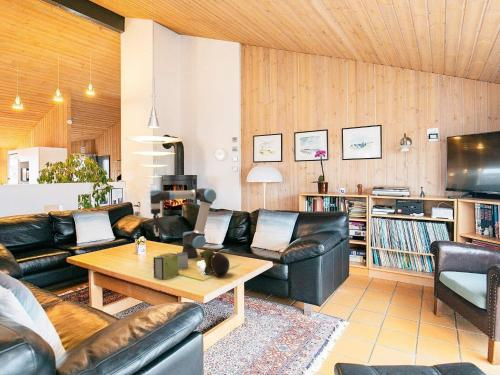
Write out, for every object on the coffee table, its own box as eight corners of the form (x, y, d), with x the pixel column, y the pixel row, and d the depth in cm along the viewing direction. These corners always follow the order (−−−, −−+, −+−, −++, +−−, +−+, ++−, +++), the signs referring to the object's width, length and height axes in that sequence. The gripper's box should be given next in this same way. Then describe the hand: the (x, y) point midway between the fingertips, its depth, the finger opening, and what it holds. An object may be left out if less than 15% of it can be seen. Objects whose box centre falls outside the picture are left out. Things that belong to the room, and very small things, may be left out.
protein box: (178, 274, 235) (178, 254, 234) (163, 280, 222) (163, 258, 221) (168, 272, 240) (168, 252, 240) (153, 277, 227) (153, 256, 226)
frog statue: (217, 285, 224) (192, 270, 236) (230, 278, 237) (205, 264, 249) (222, 262, 220) (196, 248, 232) (235, 256, 233) (209, 243, 245)
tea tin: (186, 266, 255) (186, 251, 255) (188, 268, 249) (187, 253, 248) (177, 267, 253) (176, 252, 252) (178, 269, 246) (178, 254, 245)
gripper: (149, 207, 262) (150, 232, 263) (151, 210, 238) (152, 237, 239) (159, 206, 264) (159, 231, 265) (161, 210, 241) (162, 237, 242)
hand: (156, 234), depth 252 cm, fingers open, 13 cm apart
